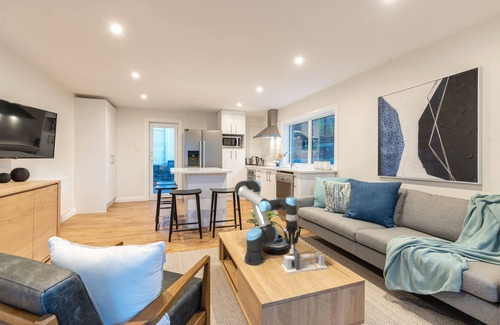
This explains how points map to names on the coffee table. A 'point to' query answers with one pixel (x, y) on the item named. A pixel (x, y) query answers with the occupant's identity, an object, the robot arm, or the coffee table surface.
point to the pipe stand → (305, 263)
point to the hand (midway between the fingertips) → (291, 253)
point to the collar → (296, 259)
